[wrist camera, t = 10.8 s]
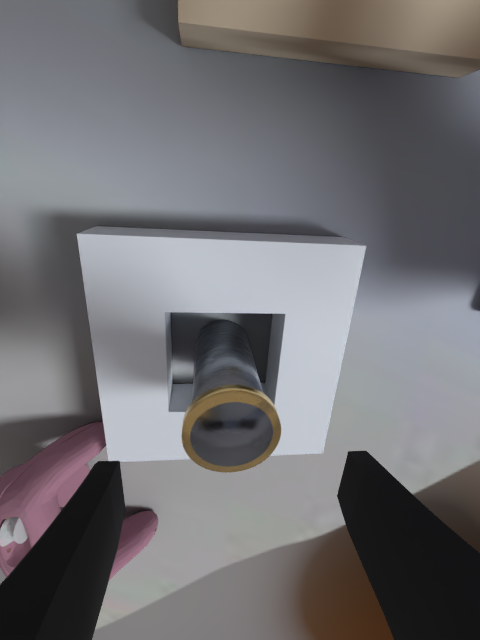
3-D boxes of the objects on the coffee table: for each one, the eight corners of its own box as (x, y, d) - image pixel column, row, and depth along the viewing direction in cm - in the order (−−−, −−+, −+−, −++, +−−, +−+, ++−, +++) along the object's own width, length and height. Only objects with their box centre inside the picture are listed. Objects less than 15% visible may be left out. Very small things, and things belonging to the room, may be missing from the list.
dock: (343, 236, 16) (366, 245, 14) (309, 423, 21) (322, 453, 18) (96, 226, 15) (76, 233, 12) (119, 429, 19) (108, 462, 17)
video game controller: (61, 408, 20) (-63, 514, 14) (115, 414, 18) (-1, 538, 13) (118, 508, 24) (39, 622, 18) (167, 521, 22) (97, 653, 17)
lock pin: (256, 315, 17) (286, 394, 11) (251, 371, 19) (275, 470, 12) (189, 314, 17) (181, 395, 10) (189, 372, 18) (182, 474, 12)
